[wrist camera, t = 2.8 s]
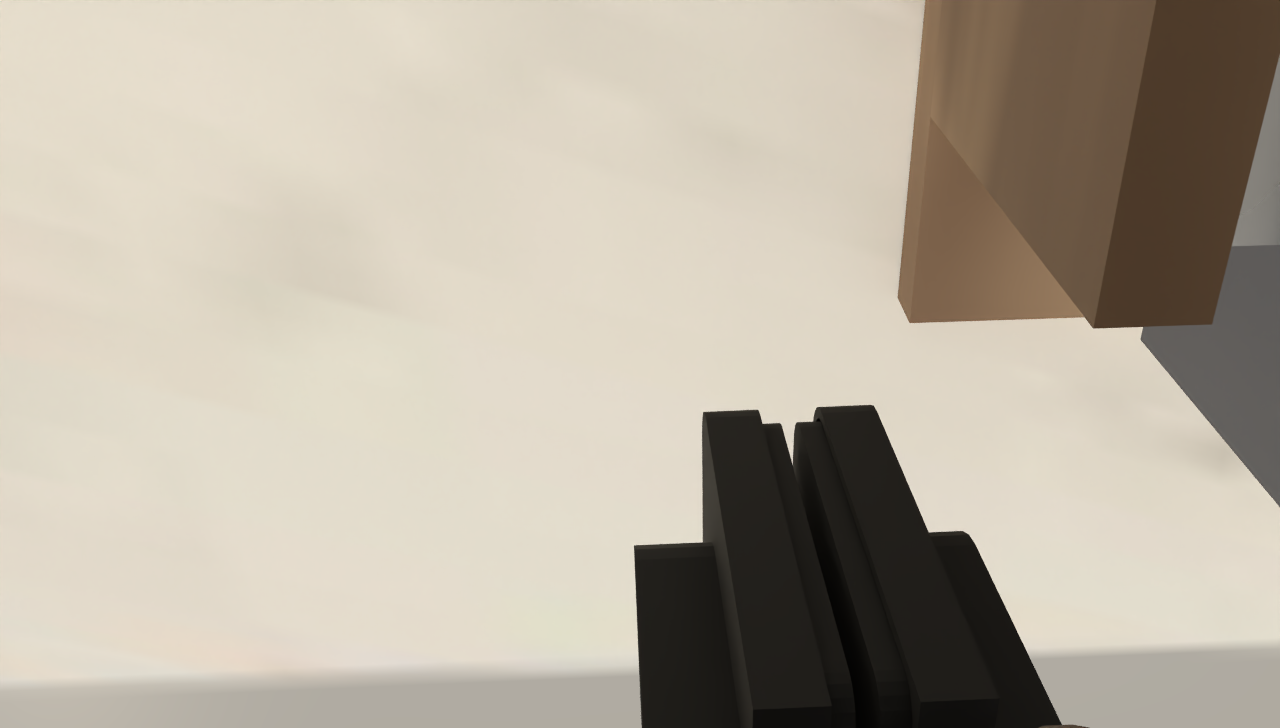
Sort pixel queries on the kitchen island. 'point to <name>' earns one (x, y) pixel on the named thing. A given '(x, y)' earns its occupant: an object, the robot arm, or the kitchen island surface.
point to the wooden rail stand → (1082, 157)
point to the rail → (1263, 181)
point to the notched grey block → (1235, 361)
